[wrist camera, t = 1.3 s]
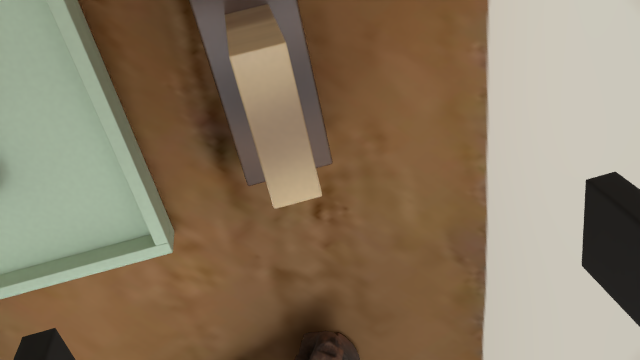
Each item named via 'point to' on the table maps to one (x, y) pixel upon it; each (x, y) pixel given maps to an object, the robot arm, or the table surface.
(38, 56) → the tray
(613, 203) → the robot arm
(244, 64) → the chalkboard eraser
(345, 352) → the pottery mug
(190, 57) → the table surface
